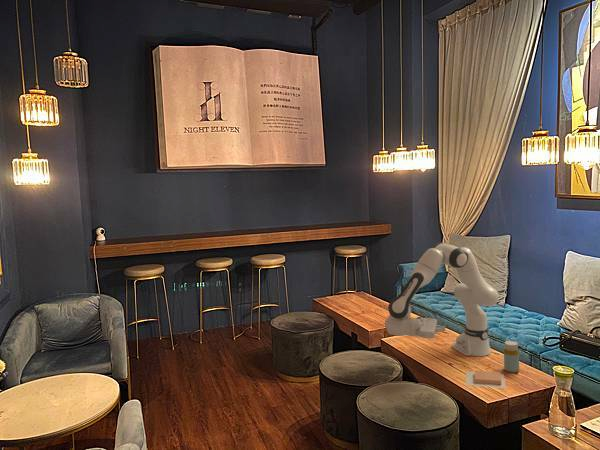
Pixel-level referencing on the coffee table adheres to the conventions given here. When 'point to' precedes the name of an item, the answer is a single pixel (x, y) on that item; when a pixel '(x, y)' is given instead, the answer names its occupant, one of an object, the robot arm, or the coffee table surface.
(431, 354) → the coffee table surface
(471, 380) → the mat
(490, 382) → the tile
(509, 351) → the bottle
